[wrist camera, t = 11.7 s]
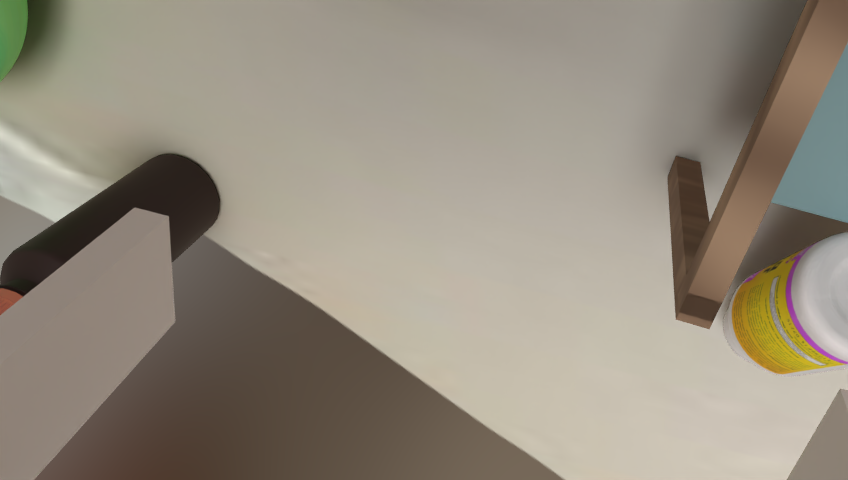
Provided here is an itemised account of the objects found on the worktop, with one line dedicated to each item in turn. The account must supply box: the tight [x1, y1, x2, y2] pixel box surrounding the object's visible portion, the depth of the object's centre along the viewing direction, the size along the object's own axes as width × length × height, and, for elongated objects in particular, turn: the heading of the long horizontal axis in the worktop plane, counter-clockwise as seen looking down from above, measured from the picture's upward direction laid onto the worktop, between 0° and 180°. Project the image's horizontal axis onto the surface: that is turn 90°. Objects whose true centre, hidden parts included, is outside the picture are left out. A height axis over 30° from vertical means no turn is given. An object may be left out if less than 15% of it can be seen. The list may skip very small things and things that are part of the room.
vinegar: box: [0, 155, 219, 315], centre depth 49 cm, size 7×7×20 cm
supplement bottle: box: [723, 232, 848, 376], centre depth 42 cm, size 7×7×13 cm
